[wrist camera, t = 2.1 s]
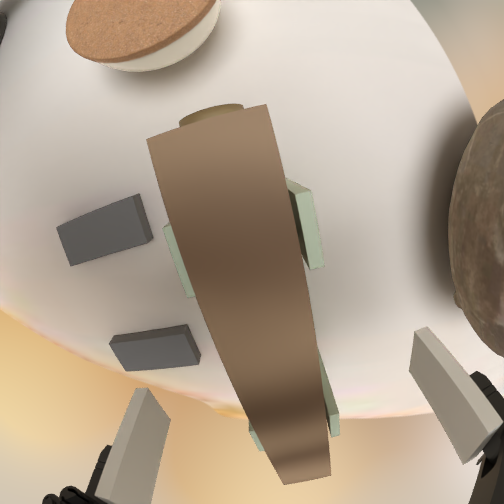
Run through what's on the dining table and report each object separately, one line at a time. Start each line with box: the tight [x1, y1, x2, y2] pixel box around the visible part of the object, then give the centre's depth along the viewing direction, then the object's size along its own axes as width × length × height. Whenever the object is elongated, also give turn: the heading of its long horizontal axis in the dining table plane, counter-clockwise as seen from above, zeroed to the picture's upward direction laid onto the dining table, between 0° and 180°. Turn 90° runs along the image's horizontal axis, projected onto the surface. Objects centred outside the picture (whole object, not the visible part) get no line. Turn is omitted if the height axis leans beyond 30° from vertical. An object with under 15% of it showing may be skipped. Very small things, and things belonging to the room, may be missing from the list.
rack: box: [163, 178, 340, 451], centre depth 18 cm, size 17×6×12 cm, turn 14°
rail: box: [146, 104, 331, 485], centre depth 13 cm, size 23×4×5 cm, turn 14°
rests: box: [56, 194, 201, 371], centre depth 23 cm, size 17×9×2 cm, turn 14°
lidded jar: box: [66, 0, 221, 72], centre depth 12 cm, size 11×11×9 cm
